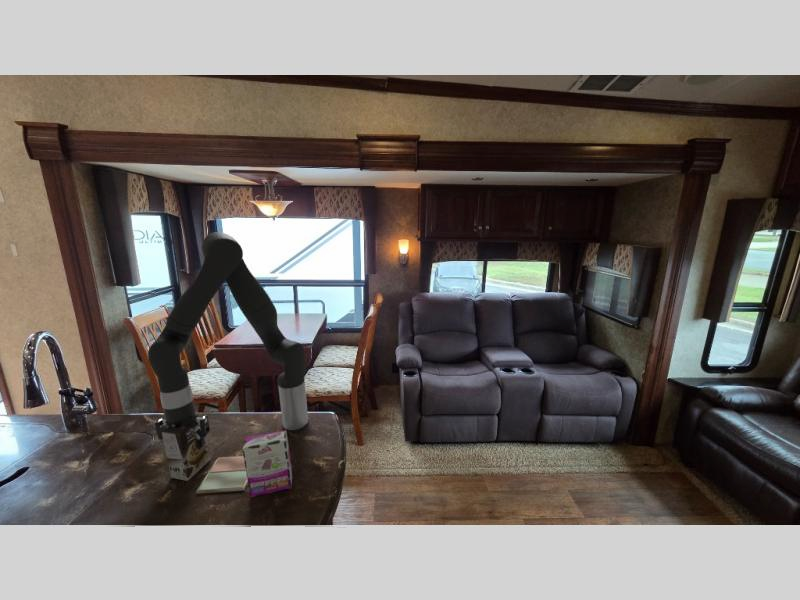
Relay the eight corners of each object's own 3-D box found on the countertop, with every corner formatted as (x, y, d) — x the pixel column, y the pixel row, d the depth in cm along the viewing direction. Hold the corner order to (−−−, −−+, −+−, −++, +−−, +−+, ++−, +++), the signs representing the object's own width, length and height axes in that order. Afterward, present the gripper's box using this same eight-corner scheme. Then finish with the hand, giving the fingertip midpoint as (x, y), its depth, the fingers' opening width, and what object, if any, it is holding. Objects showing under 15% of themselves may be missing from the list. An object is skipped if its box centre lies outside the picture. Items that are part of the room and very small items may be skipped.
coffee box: (188, 481, 93) (178, 435, 89) (170, 478, 94) (159, 432, 90) (212, 459, 101) (204, 415, 97) (195, 456, 103) (186, 413, 98)
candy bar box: (292, 475, 95) (287, 429, 90) (291, 488, 90) (286, 440, 86) (252, 484, 92) (245, 436, 87) (249, 498, 87) (241, 448, 83)
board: (218, 459, 101) (218, 457, 101) (259, 456, 102) (259, 454, 102) (196, 493, 88) (196, 490, 88) (244, 490, 90) (243, 487, 89)
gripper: (209, 392, 96) (217, 438, 100) (160, 394, 95) (170, 441, 99) (196, 406, 88) (205, 455, 93) (142, 409, 87) (154, 458, 91)
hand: (187, 448), depth 96 cm, fingers closed on coffee box, 7 cm apart
